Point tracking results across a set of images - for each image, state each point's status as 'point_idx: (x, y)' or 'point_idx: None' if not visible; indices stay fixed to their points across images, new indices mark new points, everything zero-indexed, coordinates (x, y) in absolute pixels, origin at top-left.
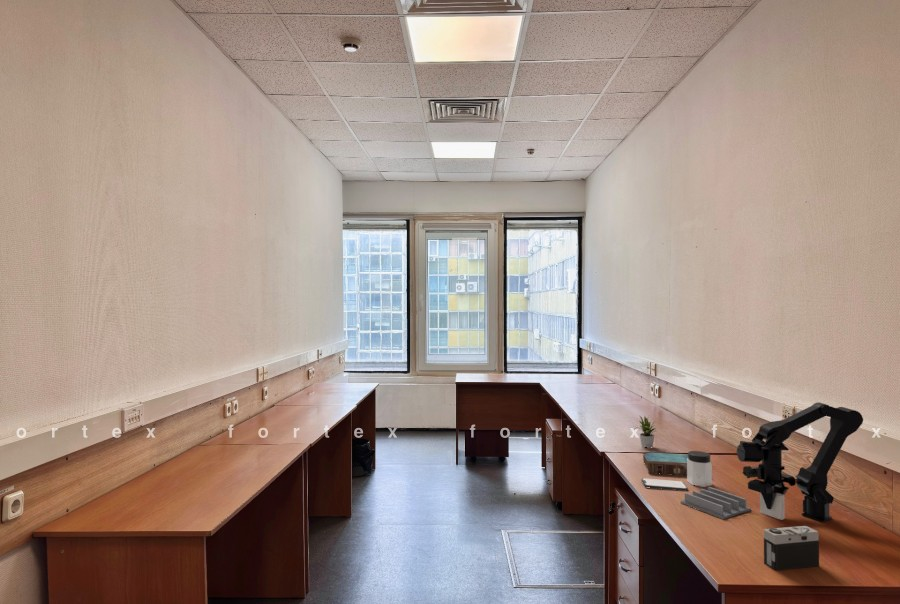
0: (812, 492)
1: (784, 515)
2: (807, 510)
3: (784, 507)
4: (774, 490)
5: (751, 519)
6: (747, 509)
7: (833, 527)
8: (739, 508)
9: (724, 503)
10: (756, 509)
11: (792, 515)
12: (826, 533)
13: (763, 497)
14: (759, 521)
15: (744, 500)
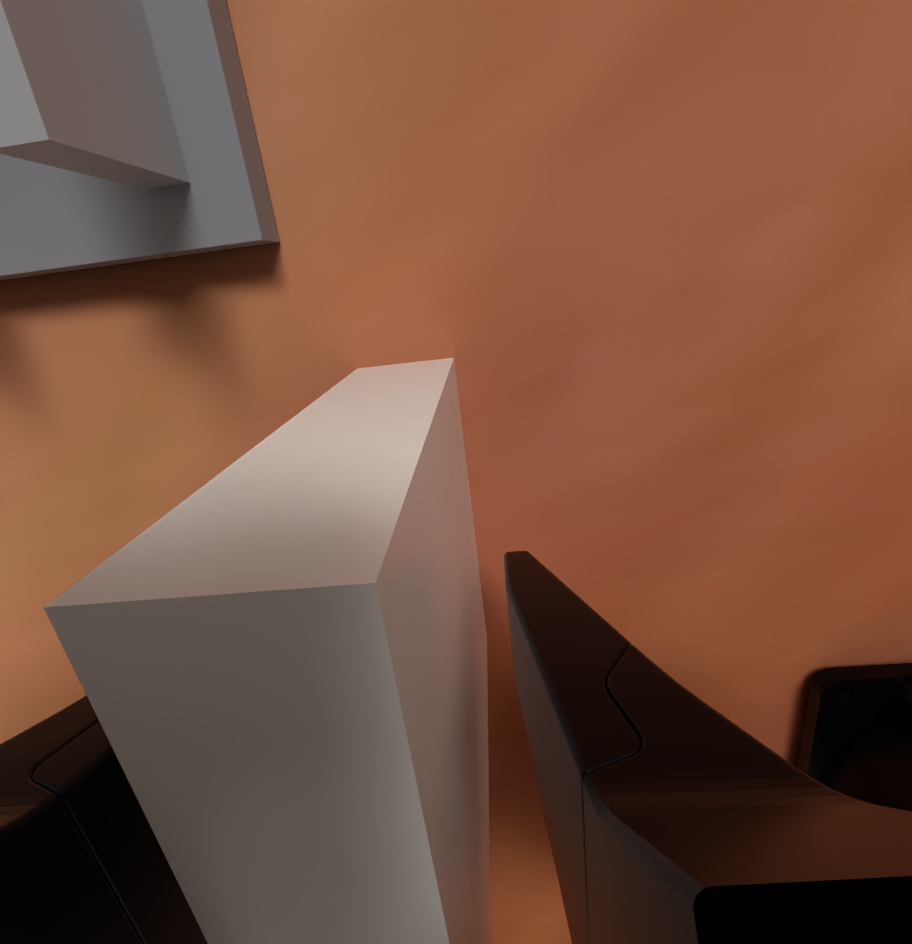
0: None
1: (486, 671)
2: (903, 781)
3: (486, 780)
4: (601, 941)
5: (22, 493)
6: (155, 255)
7: None
8: (15, 160)
9: None
10: (420, 247)
11: (705, 618)
12: (517, 938)
13: (76, 714)
14: (88, 571)
15: (12, 140)
